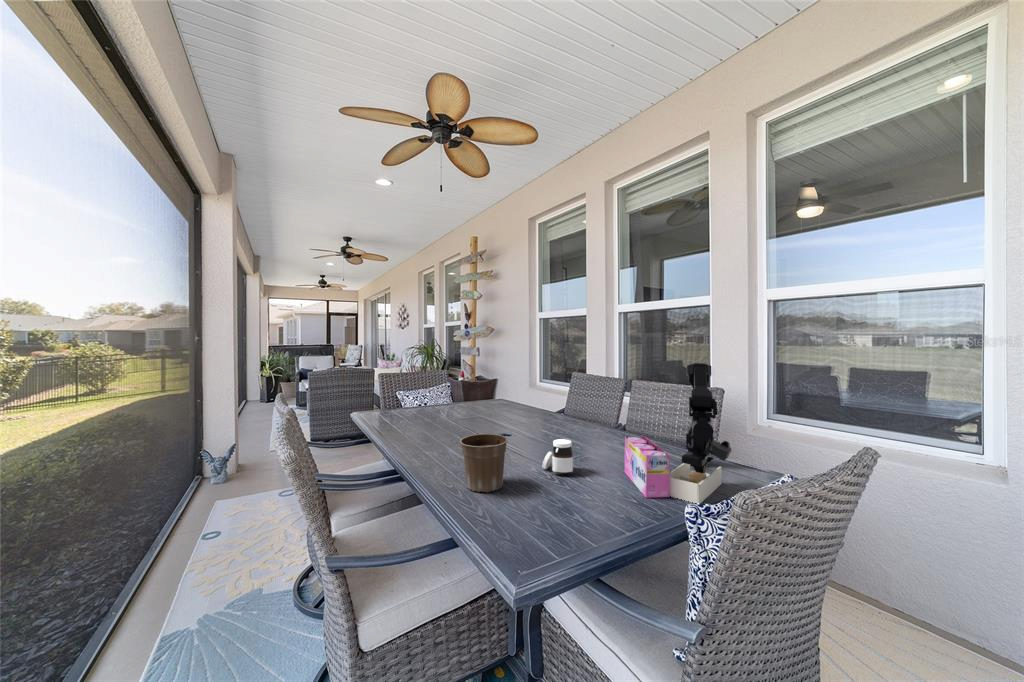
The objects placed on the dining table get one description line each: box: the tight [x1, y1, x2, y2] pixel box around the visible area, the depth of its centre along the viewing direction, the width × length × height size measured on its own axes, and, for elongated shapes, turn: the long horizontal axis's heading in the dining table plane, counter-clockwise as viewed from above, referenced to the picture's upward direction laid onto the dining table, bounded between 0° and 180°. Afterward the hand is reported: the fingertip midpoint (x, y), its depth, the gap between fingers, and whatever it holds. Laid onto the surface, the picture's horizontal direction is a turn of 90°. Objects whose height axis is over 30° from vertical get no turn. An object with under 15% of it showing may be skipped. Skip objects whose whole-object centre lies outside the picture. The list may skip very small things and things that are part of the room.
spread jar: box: [541, 438, 574, 477], centre depth 152 cm, size 12×11×12 cm
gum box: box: [624, 435, 671, 498], centre depth 140 cm, size 24×8×14 cm, turn 2°
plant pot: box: [459, 433, 508, 493], centre depth 139 cm, size 16×16×16 cm
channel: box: [669, 463, 723, 504], centre depth 135 cm, size 11×22×6 cm, turn 137°
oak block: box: [689, 470, 706, 484], centre depth 131 cm, size 4×4×4 cm
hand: (701, 479), depth 133 cm, fingers closed
